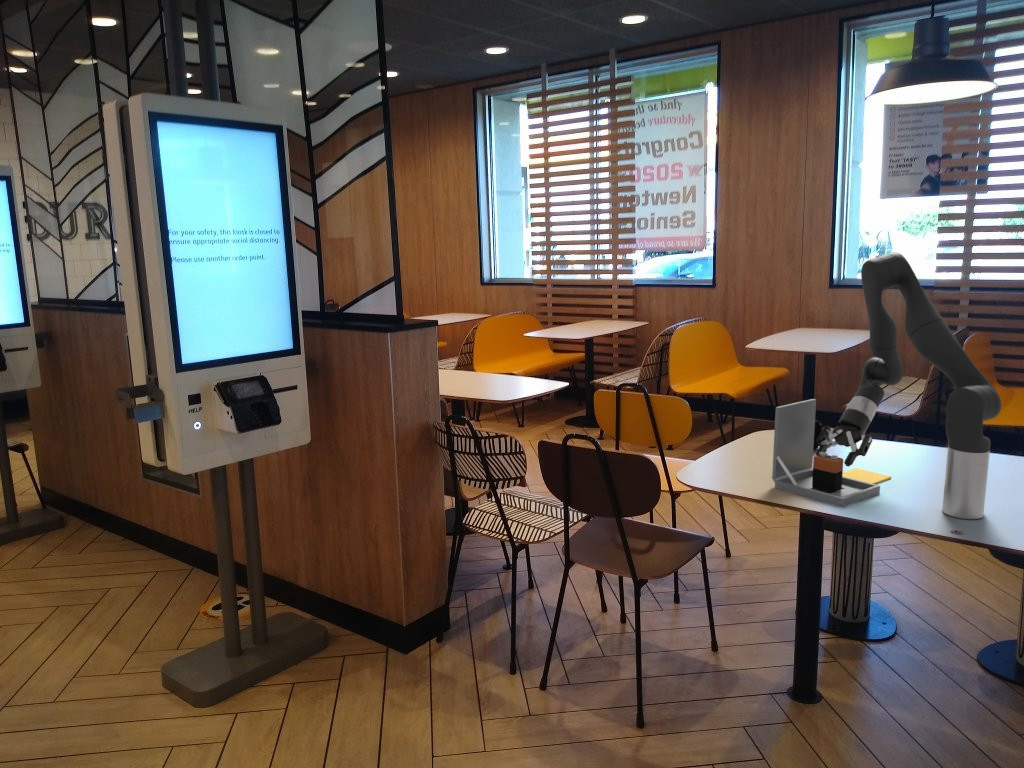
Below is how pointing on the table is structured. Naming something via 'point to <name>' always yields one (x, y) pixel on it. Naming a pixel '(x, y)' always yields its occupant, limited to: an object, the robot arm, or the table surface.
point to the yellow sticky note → (865, 476)
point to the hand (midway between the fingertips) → (832, 461)
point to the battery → (827, 472)
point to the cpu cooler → (817, 433)
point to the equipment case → (806, 457)
